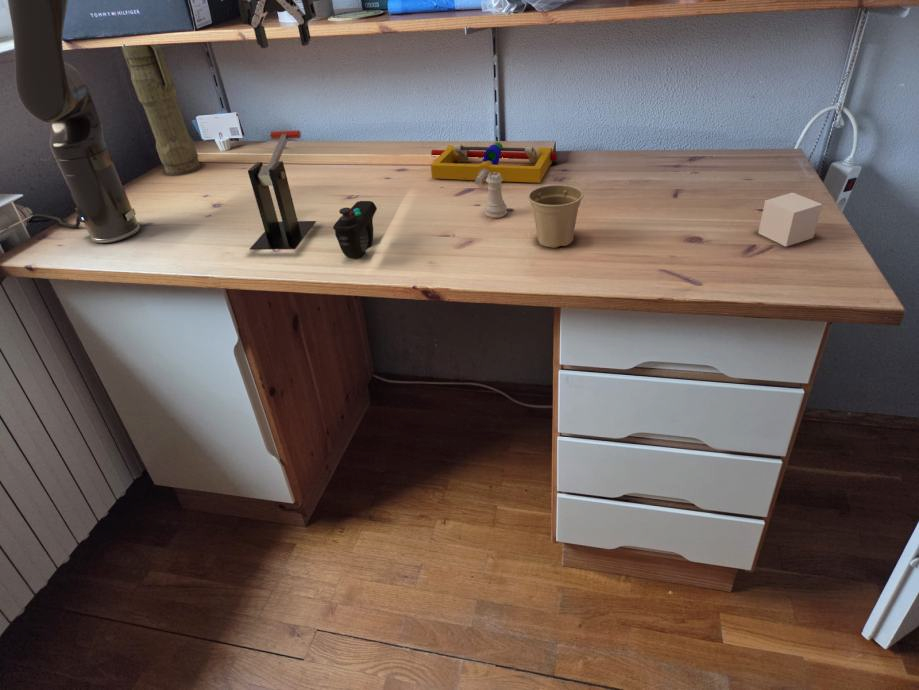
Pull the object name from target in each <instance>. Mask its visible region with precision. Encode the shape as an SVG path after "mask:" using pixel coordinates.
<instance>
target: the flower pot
mask: <svg viewBox="0 0 919 690" xmlns="http://www.w3.org/2000/svg"><path fill="white" fill-rule="evenodd" d="M584 196H585V195H584V192H583V190H582V189H581V188H579V187H577V186H574V185H569V184H548V185H542V186H538V187H535V188H534V189H532V190H530V191H529V192H528V194H527V199H528V201H529V202H530V207H531V209H532V211H533V218H534V224H535V230H536V236H537V238H536V239H537V241H538V243H539V244H540V245H541V246H543V247H546V248H553V249H554V248H558V247H561V246H562V247H566V246H568V245H570V244H571V243H572V242H573V241H574V236H575V235H574V234H575V230H576V229H575V228H576V223H577V217H578V212H579V207H580V206H581V203H582V200H583V199H584Z"/></svg>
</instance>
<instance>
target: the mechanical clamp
mask: <svg viewBox="0 0 919 690" xmlns="http://www.w3.org/2000/svg"><path fill="white" fill-rule="evenodd" d="M553 151H554V149H553V148H552V147H537V148H536V149H535V148H534V146H532V145H531V146H530V145H526V146H525V147H505V146H503V145H502V143H501V142H498V141H497V142H494V143H493V144H491V145H489V146H464V145H462V144H453V145H450V144H449V145H447V146H446V149H431V151H430V155H431V156H432V155H440V156H439V157H437V158H436V159H435V160H434V161H433V162H432V163H431V164H430V171H431V178H432V179H442V180H443V179H444V180H464V181H465V180H468V181H474V183H475V184H476V185H477V186H480V185H481V184H482V183H487V182H486V179H487V177H488V176H487V175H489V173H492V175H493V172H496V175H497V173H500V174H501V177H502V178H503V180H502V182H516V183H517V182H518V183H537V184H538V183H541V181H542V180H543V178H544V176H545V174H546V173H547V171H548V169H549V168H550V166H551V165H552V164H553V161H557V159H558V153H557V152H553ZM468 157H478V158H477V159H482V162H481V163H462V161H469V160H470V158H468ZM483 157H484V158H483ZM502 157H503V158H508V159H507V160H528V162H529V163H535V164H534V165H516V164H515V165H513V164H512V165H511V164H500V160H501V159H502Z"/></svg>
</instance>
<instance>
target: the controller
mask: <svg viewBox="0 0 919 690" xmlns="http://www.w3.org/2000/svg"><path fill="white" fill-rule="evenodd" d="M377 209H378V207H377V206H376V204H375V202H374V201H371V200H359V201H356V202H355V203H354V204H353V206H351V207H341V208H340V209H339V211H338V212H339V214H340V215H341V216H340V217H338V218H339V219H337V221H336V222H335V223H334V225H333V227H332V229H333V230H334V235H335V238H336V240H337V242H338V245H339V248H340V250H341V252H342V254H343V255H344V256H345V257H347V258H348V259H360V258H363V257H364V256H366V252H367V250H368V249H370V248H371V247H372V246H373V242H374V225H373V224H374V222H373V220H374V217H375V214H376V212H377Z"/></svg>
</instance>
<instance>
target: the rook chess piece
mask: <svg viewBox="0 0 919 690" xmlns="http://www.w3.org/2000/svg"><path fill="white" fill-rule="evenodd" d="M487 176H488V177H487V179H486V182H485V183H487V184H488V185H487V189H488V197H487V202H486V204H485V206H484V214H485V216H486V217H487V218H489V219H490V218H491V219H499V218H500V219H501V218H503V217H505V216H506V214H507V213H508V210H507V207H508V206H507V204H506V203H505V200H504V198H503V195H502V188H503V186H502V182H503V181H502V180H503V178H502V177H501V174H500V173H497V175H496V172H493V175H492V173H489V175H487Z"/></svg>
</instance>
